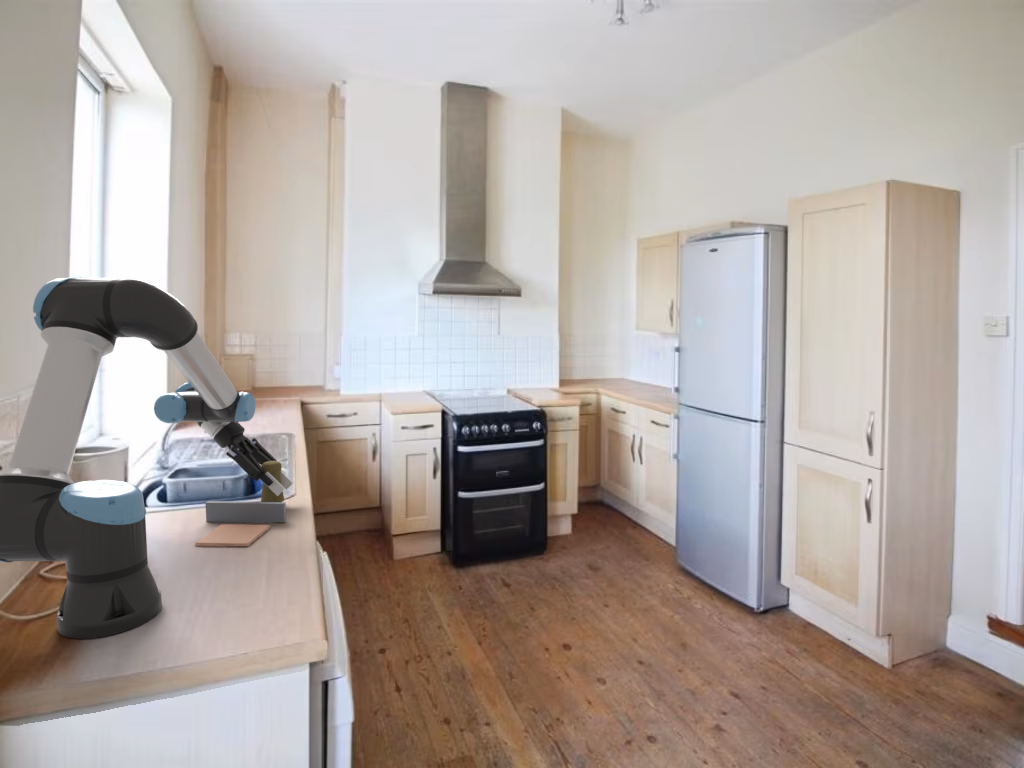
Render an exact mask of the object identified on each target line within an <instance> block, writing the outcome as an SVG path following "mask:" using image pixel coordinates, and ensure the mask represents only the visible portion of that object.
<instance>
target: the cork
mask: <svg viewBox="0 0 1024 768" xmlns="http://www.w3.org/2000/svg"><path fill="white" fill-rule="evenodd" d="M261 467H262V468H263V469H264V471H265V473H266V472H269V473H270V474H271V475H272V476H273V477H274V478H275V479H276V480H277V481H278V482H279V483H280V484H281V478H280V472H281V471H282V468H283V467H282V463H281V462H280V461H278V460H277V461H267V462H264V463H263V464H262V465H261ZM281 485H282V484H281ZM260 502H285V496H284V490H283V491H282V492H281V493H280V494H279V495H278V496H277V495H276V494H275V493H274V492H273V491H272V490H271V489H270V488H269V487H267V486H266V485H265V484H264V483H263V482H262V487H261V498H260Z"/></svg>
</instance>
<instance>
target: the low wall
mask: <svg viewBox="0 0 1024 768" xmlns="http://www.w3.org/2000/svg"><path fill="white" fill-rule="evenodd" d="M204 503H205V504H204V505H205V520H206V521H205V522H206V523H207V522H209V523H216V522H217V523H257V522H285V521H286V522H287V513H286V512H287V509H286V508H287V507H286V506H287V503H286V501H283V502H261V501H228V500H227V501H226V500H225V501H223V500H221V501H220V500H218V501H217V500H215V501H214V500H208V501H206V502H204ZM286 522H285V523H286Z"/></svg>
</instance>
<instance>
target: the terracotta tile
mask: <svg viewBox="0 0 1024 768" xmlns="http://www.w3.org/2000/svg"><path fill="white" fill-rule="evenodd" d="M269 528H271V525H270V524H228V523H227V524H226V523H225V524H224V523H221V524H219V526H217V527H216V528H214V529H213V530H212V531H210V532H209V533H207V534H206V535H204V536H203V537H201V538H200V539H198V540H197V541H195V543H194V544H195V545H194V546H195V547H227V546H248V547H250V545H252V544H253V543H254V542H255V541H257V540H258V539H259V538H260V537H261V536H262V535H264V534H265V533H266V532H267V531H269V530H270V529H269ZM266 530H267V531H266ZM265 531H266V532H265ZM264 532H265V533H264ZM263 533H264V534H263ZM261 534H262V535H261ZM260 535H261V536H260ZM259 536H260V537H259ZM258 537H259V538H258ZM257 538H258V539H257ZM253 541H254V542H253ZM252 542H253V543H252ZM251 543H252V544H251Z"/></svg>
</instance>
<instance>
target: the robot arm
mask: <svg viewBox="0 0 1024 768" xmlns="http://www.w3.org/2000/svg"><path fill="white" fill-rule="evenodd" d="M32 312H33V313H34V314H35V316H34V317H33V320H34V322H35V324H36V327H37V328H38V330H40V331H41V332H40V336H41V338H42V340H44V342H45V343H46V344H47V347H46V350H45V353H44V356H43V359H42V363H41V365H40V368H39V372H38V375H37V377H36V380H35V384H34V387H33V390H32V393H31V397H30V400H29V403H28V405H27V409H26V411H25V416H24V419H23V420H22V425H21V427H20V430H19V433H18V437H17V440H16V443H15V445H14V449H13V451H12V455H11V459H10V462H9V464H8V467H6V469H5V470H2V471H1V472H0V562H1V563H2V562H3V563H6V564H7V563H8V564H9V563H13V562H65V563H64V564H65V574H66V585H65V587H64V591H63V594H62V598H61V601H60V604H59V608H58V610H57V614H56V630H57V632H58V634H60V635H61V636H63V637H66V638H69V639H75V640H76V639H77V640H79V639H80V640H81V639H84V640H85V639H87V640H88V639H94V638H95V639H97V638H102V637H108V636H113V635H117V634H121V633H122V632H126V631H129V630H132V629H134V628H136V627H139V626H141V625H143V624H144V623H146V622H148V621H150V620H151V619H153V618H154V617H155V616H157V614H159V613H160V611H161V610H162V606H163V604H162V602H163V600H162V591H161V590H160V589H159V587H158V585H157V582H156V580H155V578H154V576H153V574H152V572H151V570H150V568H149V562H148V561H149V560H148V544H147V541H148V539H147V528H146V527H147V522H146V514H147V509H146V506H145V502H144V495H143V491H142V490H141V489H140V488H139V487H138V486H137V485H135V484H133V483H131V482H127V481H121V480H116V479H115V480H113V479H98V480H84V481H78V482H74V481H73V480H72V478H71V477H70V476H69V475H70V470H71V467H72V463H73V459H74V458H75V453H76V449H77V445H78V442H79V439H80V435H81V431H82V428H83V425H84V421H85V417H86V414H87V410H88V407H89V403H90V399H91V396H92V393H93V389H94V386H95V382H96V378H97V374H98V372H99V368H100V364H101V360H102V359H103V358H102V357H104V356H107V355H108V354H110V353H113V351H114V348H115V345H116V341H117V339H118V338H137V339H138V338H139V339H143V340H147V341H149V343H150V344H151V345H152V346H153V348H156V349H157V350H159V351H163V352H164V353H165V354H166V356H168V358H169V359H170V360H171V362H172V363H173V364H174V366H175V367H176V368H177V369H178V371H180V373H181V374H182V376H184V378H185V379H186V380H187V382H185V383H183V384H181V385H180V386H179V387H178V388H176V389H175V390H174V391H170V392H168V393H165V394H162V395H160V396H159V397H157V399H156V400H155V402H154V405H153V411H154V415H155V416H156V418H157V419H158V420H159V421H160V422H162V423H165V424H179V423H191V422H193V423H196V424H197V425H198V426H199V428H201V429H202V430H203V431H204V433H205V434H207V435H208V436H209V437H210V438H213V441H214V442H215V443H216V444H217V445H218V446H219V447H220V448H222V449H226V448H228V451H227V452H226V453H225V454H226V456H228V457H229V458H230V459H232V461H234V462H235V463H236V465H238V466H239V467H240V468H241V469H242V470H243V471H244V472H245V473H246V475H248V476H249V477H250V478H251V479H253V480H254V481H255V482H258V481H259V480H260V481H261V482H262V484H263V483H264V484H265V485H266V486H267V487H269V488H270V489H271V490H272V491H273V492H274V493H275V494H276V495H277V496H278V495H279V494H280V493H281V492H282V491H283V492H284V491H287V490H288V489H289V488H290V487H291V486H292V485H293V484H294V481H292V479H290V478H289V477H288V476H287V475H286V473H285V472H283V471H282V470H281V472H280V478H281V484H282V485H281V484H280V483H279V482H278V481H277V480H276V479H275V478H274V477H273V476H272V475H271V474H270V473H269V472H266V473H265V471H264V469H263V468H262V467H261V466H262V464H263V463H264V462H267V461H278V460H277V459H276V458H275V457H274V456H273V455H272V454H271V453H270V452H268V450H267V449H265V447H263V446H262V444H260V442H259V441H258V439H257V438H256V437H252V439H249V438H248V437H247V436H245V435H244V433H245V429H246V428H244V427H243V426H242V425H241V424H240V423H241V422H243V423H244V422H249V421H251V420H252V419H253V418H254V415H255V412H256V399H255V396H254V395H253V394H252V393H250V392H245V391H240V392H239V391H238V390H237V388H236V387H235V386H234V384H233V383H232V382H231V380H230V379H229V377H228V375H227V374H226V373H225V370H223V368H222V367H221V365H220V363H219V362H218V360H217V359H216V357H215V356H214V355H213V353H212V352H211V350H210V349H209V347H208V346H207V345H206V343H205V341H204V339H202V337H201V336H200V334H199V333H198V331H199V324H198V322H197V320H196V319H195V317H194V316H193V314H192V313H191V312H190V310H189V309H188V307H186V306H185V305H184V304H183V303H182V302H181V301H180V300H178V298H176V297H175V296H173V295H172V294H171V293H169V292H167V291H166V290H165V289H163V288H161V287H160V286H158V285H156V284H154V283H151V282H150V281H149V282H148V281H146V280H144V279H141V278H140V279H139V278H136V277H135V278H133V277H122V278H121V277H120V278H119V277H113V278H112V277H109V278H108V277H102V278H101V277H100V278H99V277H83V276H70V277H61V278H60V277H59V278H55V279H53V280H49V281H48V282H46V283H45V284H44V285H42V287H41V288H40V289H39V291H38V292H37V294H36V296H35V298H34V301H33V307H32ZM239 422H240V423H239Z"/></svg>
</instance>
